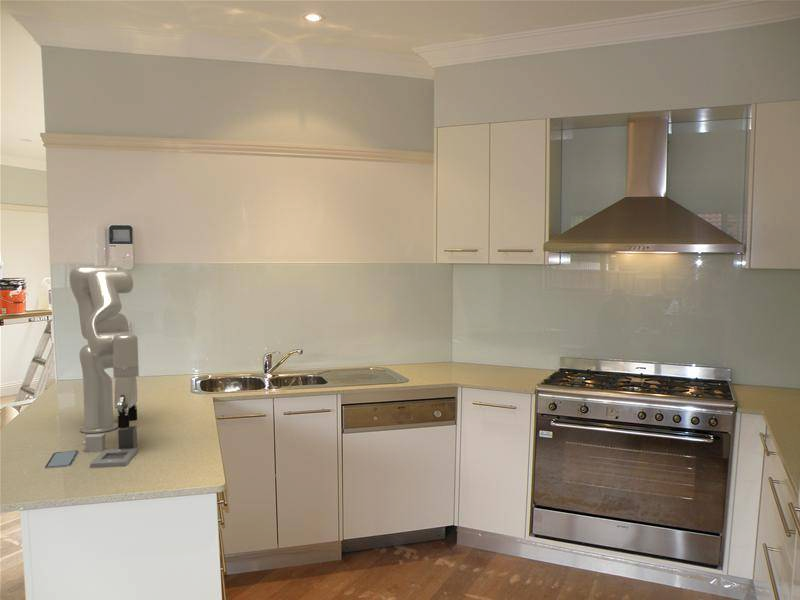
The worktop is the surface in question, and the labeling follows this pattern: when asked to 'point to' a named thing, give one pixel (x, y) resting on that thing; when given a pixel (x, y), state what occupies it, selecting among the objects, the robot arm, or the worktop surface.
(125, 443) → the block
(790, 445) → the worktop surface
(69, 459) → the smartphone
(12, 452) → the worktop surface
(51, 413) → the worktop surface
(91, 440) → the cable plug
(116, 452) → the outlet plate
